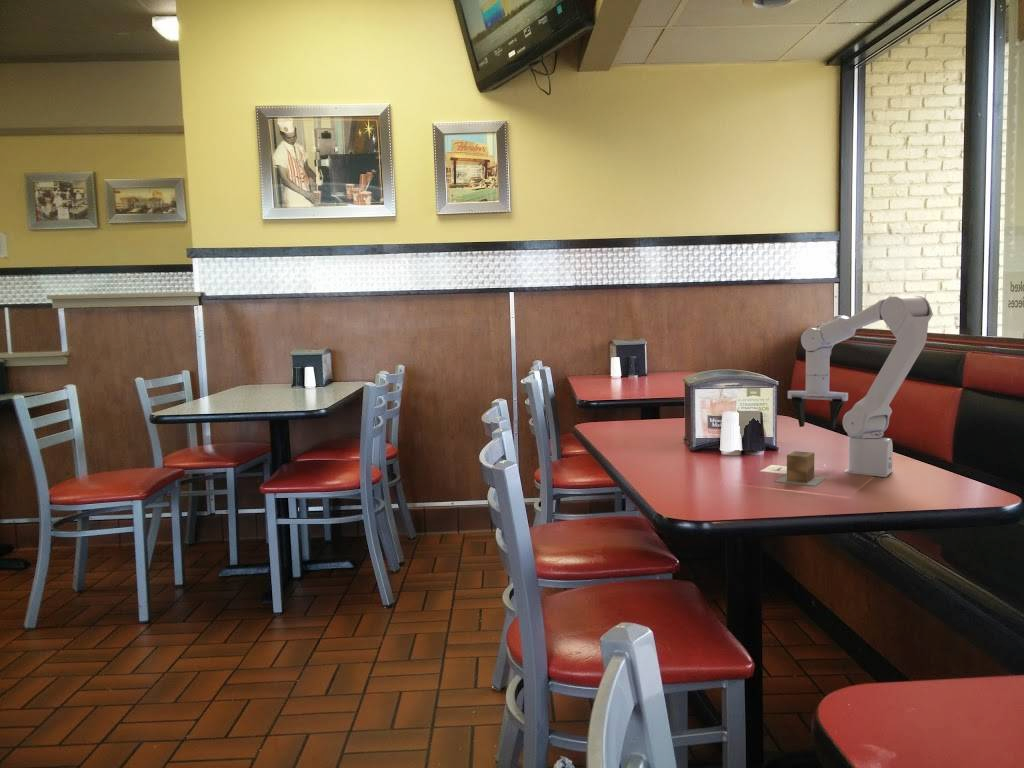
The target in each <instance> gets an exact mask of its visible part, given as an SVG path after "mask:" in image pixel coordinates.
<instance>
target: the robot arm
mask: <svg viewBox="0 0 1024 768" xmlns="http://www.w3.org/2000/svg"><path fill="white" fill-rule="evenodd" d="M933 315H934V313H933V311H932V307H931V305H930V302H929V300H927V299H926V297H924V296H921V295H913V296H895V295H894V296H893V295H892V296H888V297H886V298H884V299H880V300H878V301H877V302H876V303H874V304H872V305H869V307H867V308H865V309H862V310H861V311H859V312H857V313H855V314H853V315H851V316H847V315H840V314H837V315H835V316H833V319H832V320H830V321H828V322H826V323H825V322H823V323H820V324H819V325H818V327H817V328H815V327H808V328H807V329H805V330H804V331H803V332H802V334H801V336H800V343H801V346H802V348H803V349H804V350H805V390H787V399H790V404H791V405H792V407H793V410H794V412H795V414H796V417H797V420H798V426H799V428H803V427H805V425H806V424H805V423H806V422H805V420H806V419H805V410H806V400H818V401H819V400H823V401H829V403H828V404H829V412H830V413H829V414H830V415H829V416H830V417H829V423H830V424H829V429H830V430H834V429H836V424H837V421H838V417H839V414H840V412H841V410H842V408H843V406H844V404H845V402H847V401H848V400H849V392H842V391H841V392H839V391H830V379H831V378H830V374H831V373H830V369H831V367H830V361H831V360H830V358H831V355H832V350H833V348H834V346H835V345H837V344H839V343H841V342H844V341H846V340H848V339H850V338H852V337H854V336H855V334H856V331H857V330H858V329H861V328H863V327H866V326H869V325H871V324H874V323H877V322H879V321H883V322H884V323H885V325H886V326H887V327H888V329H889V330H890V332H891V333H892V334H893V336H894V337H895V339H896V343H894V346H893V347H892V348H891V351H890V352H889V355H888V357H886V360H885V361H884V363H883V365H882V367H881V369H880V370H879V372H878V373H877V376H876V377H875V378H874V381H873V382H872V384H871V386H870V388H869V389H868V391H867V393H866V394H865V396H864V397H863V398H862V399H860V400H859V401H857V402H855V403H854V405H853V406H852V408H851V409H850V410H848V411H847V412H845V414H844V415H843V418H842V427H843V429H844V431H845V432H846V433H847V437H848V439H849V440H848V454H849V455H848V468H846V469H845V470H844V471H843V473H847V474H857V475H858V474H859V475H867V476H873V477H880V478H881V477H882V478H887V477H888V476H889V475H890V474H891V473H893V472H894V470H893V453H894V452H893V451H894V449H893V439H892V438H889V437H883V436H884V432H885V431H886V430H887V429H888V427H889V425H890V417H891V415H892V414H893V410H892V407H890V404H891V402H892V401H893V400H894V397H895V396H896V394H897V392H898V391H899V389H900V387H901V386H902V384H903V383H904V381H905V380H906V378H907V376H908V374H909V373H910V371H911V370H912V367H913V365H914V364H915V362H916V361H917V358H919V356H920V354H921V352H922V350H923V349H924V347H925V345H926V343H927V338H928V328H929V322H930V320H931V319H932V318H933Z"/></svg>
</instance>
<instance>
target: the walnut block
mask: <svg viewBox="0 0 1024 768" xmlns="http://www.w3.org/2000/svg"><path fill="white" fill-rule="evenodd" d="M786 466H787V481H793V482H803V483H807V482H809V481H810V480H812V479H813V478H814V477H815V452H810V451H801V450H800V451H799V450H798V451H797V450H794V451H792V452H790V453H788V454H786Z"/></svg>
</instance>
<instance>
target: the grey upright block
mask: <svg viewBox="0 0 1024 768" xmlns="http://www.w3.org/2000/svg"><path fill="white" fill-rule="evenodd" d="M736 410H737V412H738V413H739V426H740V434H741V437H743V435H744V428H745V426H746V425H748V424H749V421H751V420H752V419H753V418H754V419H755V420H756V421H757V420H758V421H759V423H760V424H761V410H760V409H758V408H740V409H739V408H738V409H737V408H736ZM736 410H735V411H736Z"/></svg>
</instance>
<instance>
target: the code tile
mask: <svg viewBox="0 0 1024 768" xmlns="http://www.w3.org/2000/svg"><path fill="white" fill-rule="evenodd" d="M760 472H764V473H773V474H783V475H786V474H787V465H779V464H777V465H776V464H771V465H769V466H766V467H765V468H763V469H761V470H760Z"/></svg>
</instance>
